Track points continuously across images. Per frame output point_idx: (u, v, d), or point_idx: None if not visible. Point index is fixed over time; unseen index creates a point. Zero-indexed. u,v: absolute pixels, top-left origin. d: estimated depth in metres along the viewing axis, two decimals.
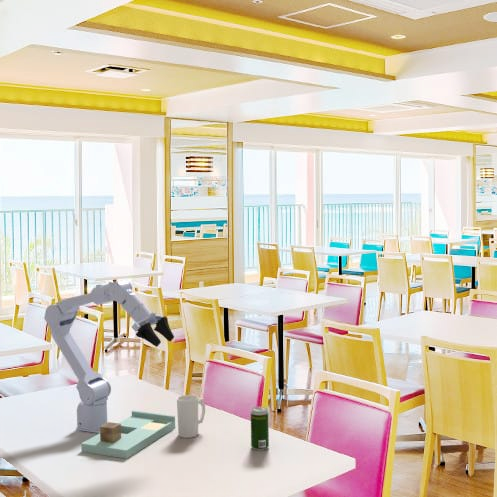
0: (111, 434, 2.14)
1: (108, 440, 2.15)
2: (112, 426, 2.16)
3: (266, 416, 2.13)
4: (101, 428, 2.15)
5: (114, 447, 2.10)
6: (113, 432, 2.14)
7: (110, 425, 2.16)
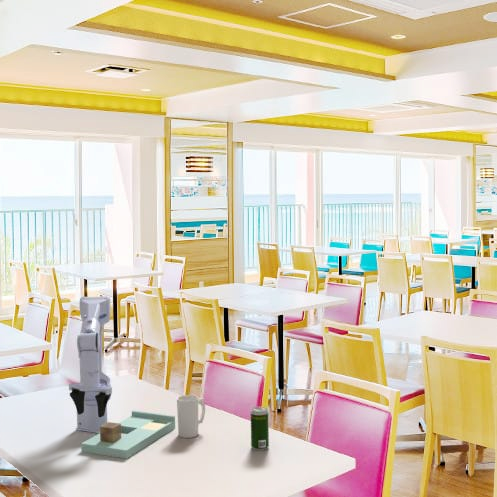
0: (111, 434, 2.14)
1: (108, 440, 2.15)
2: (112, 426, 2.16)
3: (266, 416, 2.13)
4: (101, 428, 2.15)
5: (114, 447, 2.10)
6: (113, 432, 2.14)
7: (110, 425, 2.16)
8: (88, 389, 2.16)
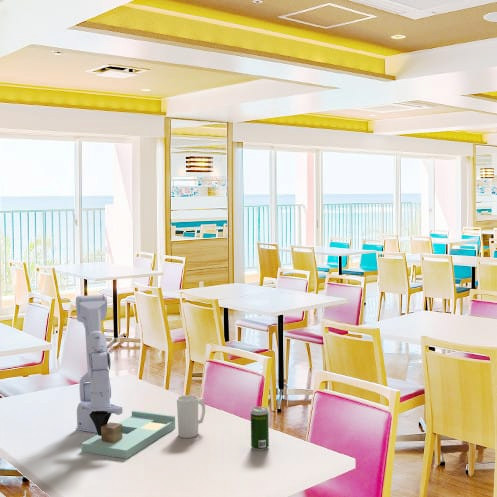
0: (112, 434, 2.14)
1: (109, 440, 2.15)
2: (113, 426, 2.15)
3: (266, 416, 2.13)
4: (102, 428, 2.15)
5: (114, 447, 2.10)
6: (114, 432, 2.14)
7: (112, 425, 2.16)
8: (98, 409, 2.15)
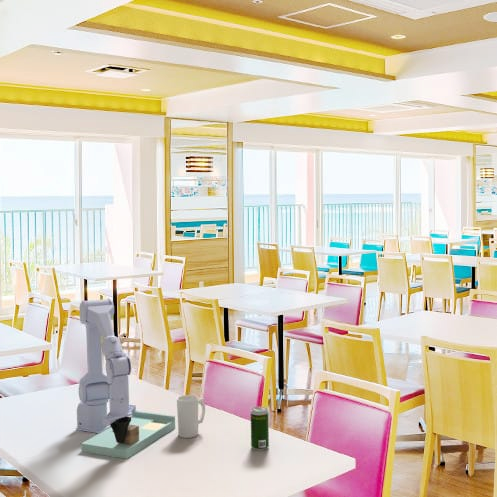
0: (129, 436, 2.12)
1: (126, 442, 2.13)
2: (130, 428, 2.13)
3: (266, 416, 2.13)
4: None
5: (114, 447, 2.10)
6: (131, 434, 2.12)
7: (128, 427, 2.14)
8: None
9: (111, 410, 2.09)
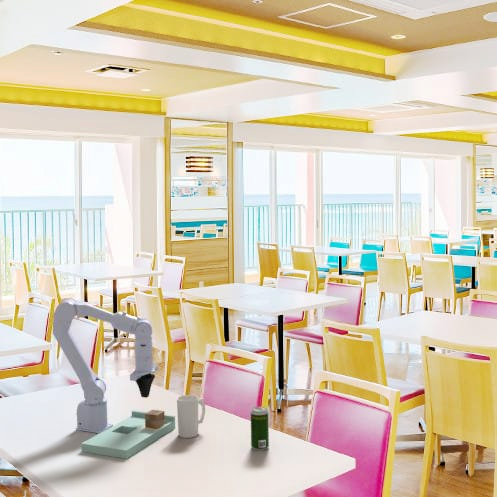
0: (156, 421, 2.26)
1: (153, 426, 2.27)
2: (156, 413, 2.27)
3: (266, 416, 2.13)
4: (146, 415, 2.27)
5: (114, 447, 2.10)
6: (157, 419, 2.26)
7: (155, 412, 2.28)
8: (153, 370, 2.35)
9: (137, 367, 2.33)
